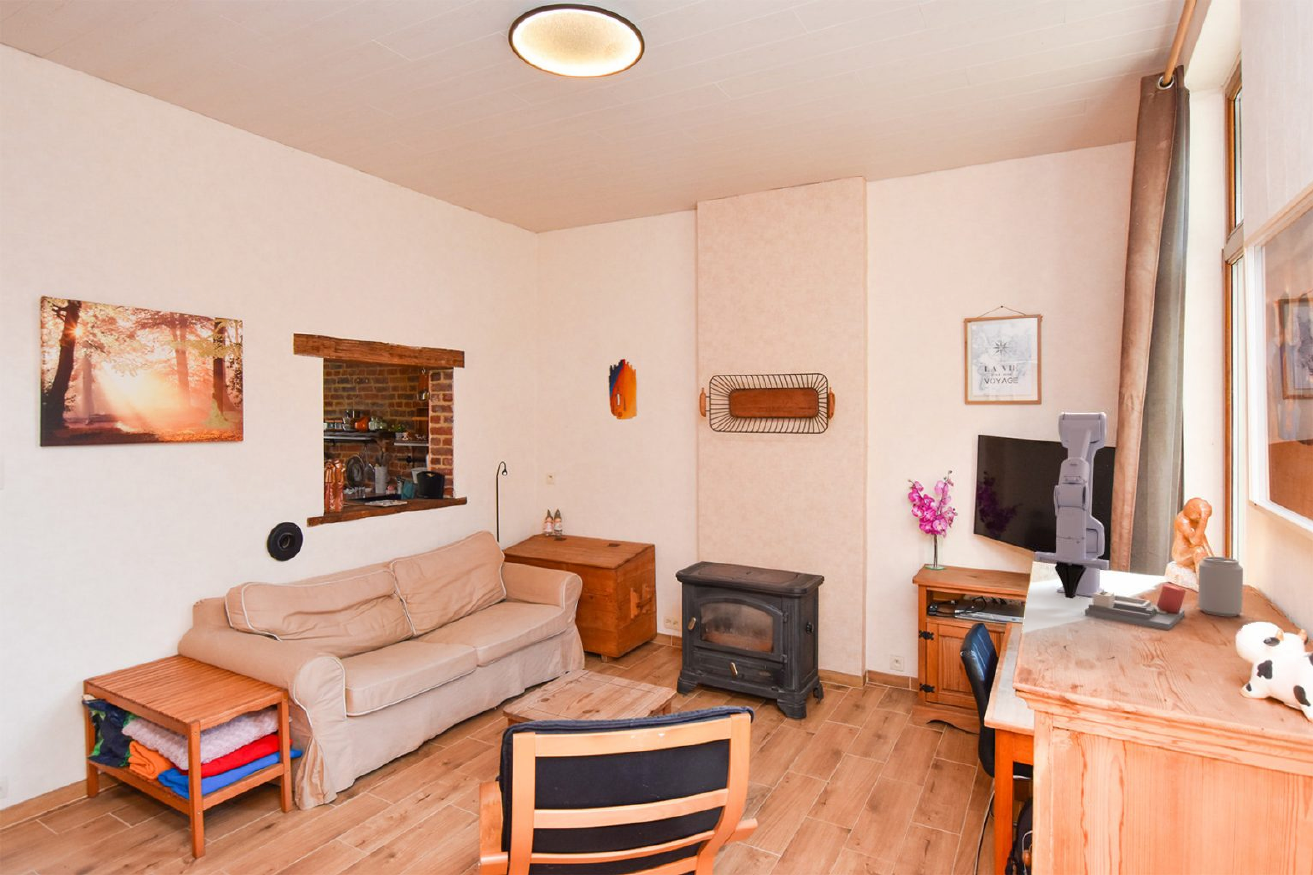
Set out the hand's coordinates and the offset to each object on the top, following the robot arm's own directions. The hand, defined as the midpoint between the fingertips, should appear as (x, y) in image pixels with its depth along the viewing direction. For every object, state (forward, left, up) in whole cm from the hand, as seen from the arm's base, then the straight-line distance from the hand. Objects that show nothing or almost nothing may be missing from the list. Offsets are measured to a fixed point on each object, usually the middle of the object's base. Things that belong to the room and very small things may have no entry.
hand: (1070, 597), depth 158 cm
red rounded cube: (-7, +17, -1) cm, 18 cm away
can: (-19, +24, -3) cm, 31 cm away
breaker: (0, +6, -1) cm, 7 cm away
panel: (-4, +11, -2) cm, 12 cm away
